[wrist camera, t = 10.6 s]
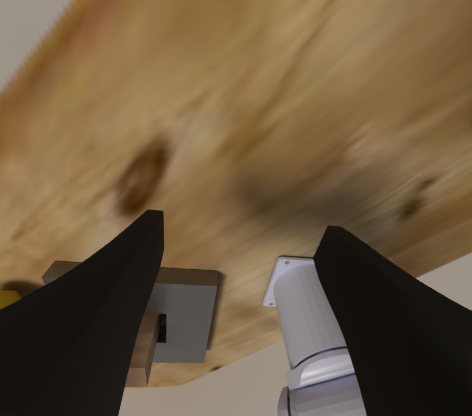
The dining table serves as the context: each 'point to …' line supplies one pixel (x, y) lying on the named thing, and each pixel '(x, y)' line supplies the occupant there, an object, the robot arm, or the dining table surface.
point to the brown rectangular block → (144, 351)
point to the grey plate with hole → (173, 310)
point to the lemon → (8, 297)
